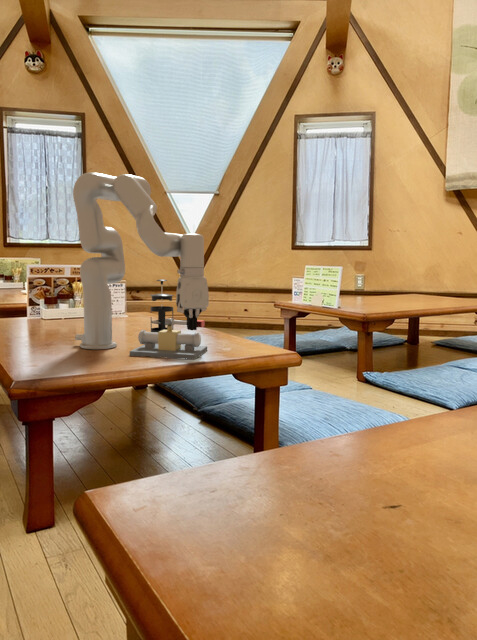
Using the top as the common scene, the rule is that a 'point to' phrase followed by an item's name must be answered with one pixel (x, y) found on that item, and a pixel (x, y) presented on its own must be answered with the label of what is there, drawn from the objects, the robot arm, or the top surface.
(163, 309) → the french press
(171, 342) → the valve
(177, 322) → the lever
